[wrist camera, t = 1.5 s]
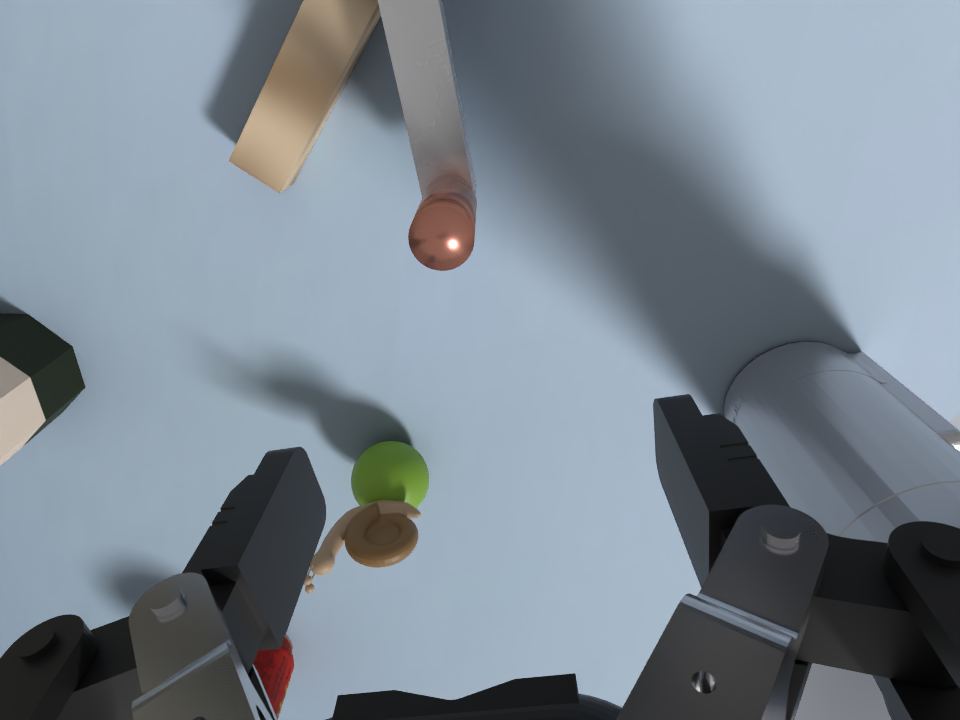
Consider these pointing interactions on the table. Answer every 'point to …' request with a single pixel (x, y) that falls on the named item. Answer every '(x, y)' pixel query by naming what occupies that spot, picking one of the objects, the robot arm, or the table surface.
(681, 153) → the table surface
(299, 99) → the base
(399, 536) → the snail figurine
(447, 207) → the bar
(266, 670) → the soda can
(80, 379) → the wine bottle
